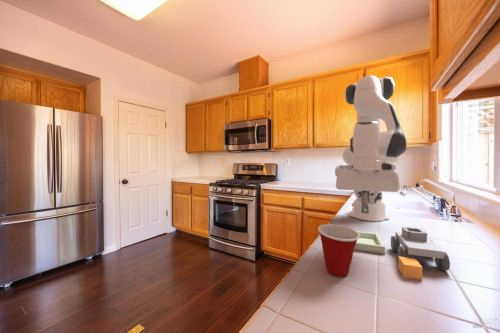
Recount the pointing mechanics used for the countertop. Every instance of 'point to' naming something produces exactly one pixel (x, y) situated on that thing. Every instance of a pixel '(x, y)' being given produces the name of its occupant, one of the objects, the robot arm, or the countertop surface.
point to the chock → (410, 267)
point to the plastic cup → (338, 248)
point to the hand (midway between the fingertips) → (365, 202)
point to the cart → (418, 246)
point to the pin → (365, 202)
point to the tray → (369, 243)
